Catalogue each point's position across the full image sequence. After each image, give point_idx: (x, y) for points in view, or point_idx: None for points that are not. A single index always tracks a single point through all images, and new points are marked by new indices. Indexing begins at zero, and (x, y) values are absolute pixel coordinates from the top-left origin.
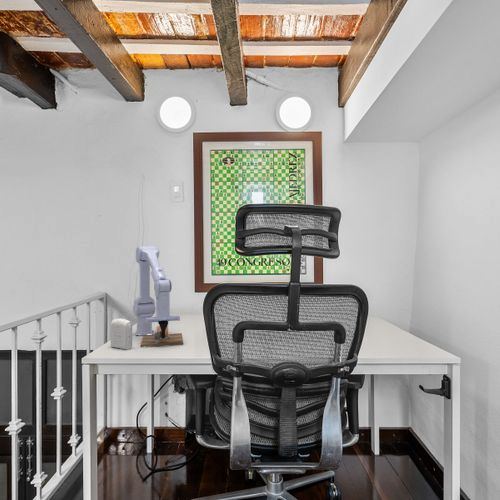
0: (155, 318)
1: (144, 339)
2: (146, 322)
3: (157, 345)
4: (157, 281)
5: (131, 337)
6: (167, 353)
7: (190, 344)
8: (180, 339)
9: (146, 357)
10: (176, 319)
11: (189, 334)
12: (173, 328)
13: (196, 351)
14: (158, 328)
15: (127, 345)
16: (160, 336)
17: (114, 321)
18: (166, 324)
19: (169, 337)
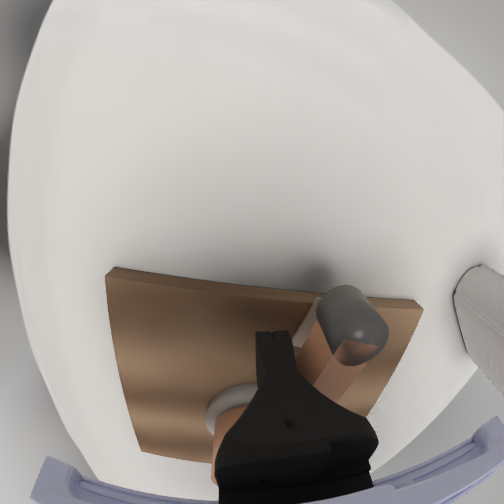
0: (461, 489)
1: (362, 406)
2: (499, 419)
3: (316, 295)
4: None
5: (494, 320)
6: (272, 38)
7: (69, 257)
8: (129, 354)
9: (413, 30)
10: (88, 489)
11: (111, 440)
12: (188, 498)
13: (65, 53)
14: None
15: (488, 274)
16: (300, 358)
17: None
18: (253, 436)
19: (207, 408)
